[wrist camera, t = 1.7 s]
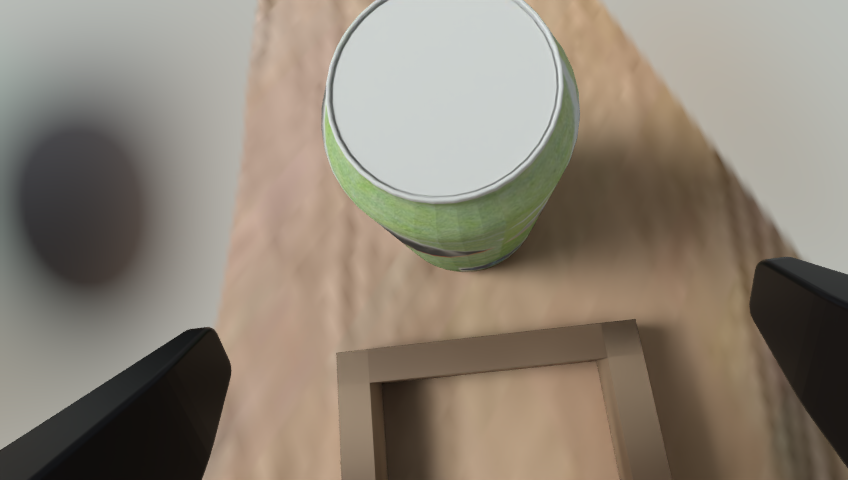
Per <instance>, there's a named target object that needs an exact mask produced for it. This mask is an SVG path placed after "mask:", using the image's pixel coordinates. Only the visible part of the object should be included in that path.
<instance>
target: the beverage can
mask: <svg viewBox="0 0 848 480" xmlns="http://www.w3.org/2000/svg"><path fill="white" fill-rule="evenodd" d="M579 119H580V108H579V92H578V88H577V84H576V80H575V76H574V72H573V69H572V67H571V65H570V63H569V60H568V58H567V56H566V54H565V52H564V50H563V48H562V47H561V45H560V44H559V43H558V41H557V40H556V39H555V37H554V36H553V35H552V33H551V32H550V30H549V29H548V27H547V26H546V24H545V23H544V22H543V20H542V19H541V18H540V16H539V15H538V13H536V12H535V11H534V10H533V9H532V8H531V7H530V6H529V5H528V4H527V3H526V2H525V1H524V0H376V1H374V2H373V3H372V4H371V5H370V6H369V7H367V8H366V9H365V10H364V11H363V12H362V13H361V14H360V15H359V16H358V17H357V18H356V19H355V21H354V22H353V23H352V24H351V25H350V27H349V28H348V29H347V30H346V32H345V34H344V35H343V37H342V39H341V41H340V42H339V44H338V46H337V48H336V50H335V53H334V56H333V58H332V61H331V64H330V67H329V73H328V78H327V83H326V88H325V93H324V99H323V104H322V135H323V141H324V147H325V152H326V155H327V157H328V160H329V163H330V166H331V168H332V171H333V173H334V175H335V176H336V178H337V180H338V182H339V183H340V185H341V187H342V188H343V190H344V191H345V193H346V194H347V195H348V196H349V197H350V198H351V200H352V201H353V202H354V203H355V204H356V205H357V206H358V207H359V208H360V209H361V210H362V211H364V212H365V213H366V214H367V215H369V216H370V217H371V218H372V219H374V220H375V221H376V222H377V223H379V224H380V225H381V226H382V227H384V228H385V229H386V230H387V231H389V232H390V233H391V234H392V235H394V236H395V237H396V238H397V239H399V240H400V241H401V242H402V243H404V244H405V245H406V246H407V247H409V248H410V249H411V250H412V251H414V252H415V253H416V254H417V255H419V256H420V257H421V258H422V259H424V260H425V261H427V262H429V263H431V264H433V265H435V266H437V267H440V268H443V269H446V270H452V271H459V272H467V271H477V270H482V269H486V268H489V267H491V266H494V265H496V264H498V263H500V262H502V261H503V260H505V259H507V258H508V257H509V256H511V255H512V254H513V253H514V252H515V251H516V250H517V249H518V248H519V247H520V246H521V245H522V243H523V242H524V241H525V240H526V238H527V237H528V235H529V233H530V231H531V229H532V228H533V226H534V224H535V222H536V221H537V219H538V217H539V215H540V214H541V212H542V210H543V208H544V206H545V205H546V203H547V201H548V199H549V198H550V196H551V194H552V192H553V191H554V189H555V187H556V185H557V183H558V182H559V180H560V178H561V176H562V174H563V172H564V171H565V169H566V167H567V165H568V163H569V161H570V159H571V155H572V152H573V149H574V146H575V143H576V140H577V135H578V127H579Z"/></svg>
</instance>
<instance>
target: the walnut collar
mask: <svg viewBox="0 0 848 480" xmlns="http://www.w3.org/2000/svg"><path fill="white" fill-rule="evenodd" d="M336 355H337V379H338V404H339V428H340V453H341V477H342V480H388V473H387V458H386V443H385V428H384V413H383V398H382V383H390V382H400V381H409V380H419V379H428V378H438V377H447V376H457V375H466V374H476V373H485V372H495V371H504V370H514V369H523V368H533V367H542V366H552V365H561V364H571V363H580V362H590V361H597V366H598V371H599V376H600V381H601V386H602V391H603V396H604V401H605V406H606V411H607V417H608V422H609V427H610V432H611V437H612V442H613V447H614V452H615V457H616V462H617V467H618V472H619V477H620V480H672V477H671V473H670V468H669V464H668V459H667V455H666V451H665V446H664V442H663V438H662V433H661V429H660V424H659V420H658V416H657V411H656V407H655V403H654V398H653V394H652V389H651V385H650V381H649V376H648V372H647V368H646V363H645V359H644V354H643V350H642V346H641V341H640V337H639V333H638V328H637V324H636V319H632V320H623V321H614V322H605V323H596V324H588V325H579V326H570V327H561V328H552V329H543V330H534V331H526V332H517V333H508V334H499V335H490V336H481V337H472V338H464V339H455V340H446V341H437V342H428V343H419V344H410V345H402V346H393V347H384V348H375V349H366V350H357V351H348V352H340V353H336Z"/></svg>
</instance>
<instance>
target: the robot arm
mask: <svg viewBox="0 0 848 480" xmlns="http://www.w3.org/2000/svg"><path fill="white" fill-rule="evenodd" d="M749 306H750V313H751V316H752V318H753V320H754V322H755V324H756V326H757V327H758V329H759V331H760V333H761V334H762V336H763V338H764V340H765V341H766V343H767V345H768V347H769V349H770V350H771V352H772V354H773V356H774V357H775V359H776V361H777V363H778V364H779V366H780V368H781V370H782V371H783V373H784V375H785V377H786V378H787V380H788V382H789V384H790V385H791V387H792V389H793V390H794V392H795V394H796V395H797V397H798V399H799V400H800V402H801V403H802V405H803V406H804V408H805V409H806V411H807V412H808V414H809V415H810V416H811V418H812V419H813V421H814V422H815V423H816V425H817V426H818V428H819V429H820V430H821V432H822V433H823V435H824V436H825V437H826V439H827V440H828V441H829V443H830V444H831V446H832V447H833V448H834V450H835V451H836V453H837V454H838V455H839V457H840V458H841V460H842V461H843V462H844V464H845V465H846V466H847V468H848V274H844V273H841V272H837V271H835V270H831V269H828V268H825V267H822V266H818V265H815V264H812V263H809V262H805V261H802V260H799V259H796V258H792V257H781V258H773V259H765V260H762V261H760V262H759V263H758V264H757V266H756V269H755V274H754V279H753V285H752V291H751V297H750V304H749ZM230 378H231V364H230V361H229V359H228V356H227V354H226V352H225V350H224V348H223V345H222V343H221V341H220V339H219V337H218V334H217V333H216V331H215V330H214V329H212V328H210V327H204V328H196V329H189V330H186V331H185V332H183V333H181V334H180V335H178V336H177V337H175V338H174V339H172V340H171V341H169V342H168V343H166V344H164V345H163V346H161V347H160V348H158V349H157V350H155V351H153V352H152V353H151V354H149V355H148V356H146V357H144V358H143V359H141V360H140V361H138V362H136V363H135V364H133V365H132V366H130V367H129V368H127V369H126V370H124V371H122V372H121V373H119V374H118V375H116V376H115V377H113V378H112V379H110V380H109V381H107V382H105V383H104V384H102V385H101V386H99V387H98V388H96V389H95V390H93V391H91V392H90V393H88V394H87V395H85V396H84V397H82V398H80V399H79V400H77V401H76V402H74V403H73V404H71V405H70V406H68V407H67V408H65V409H64V410H62V411H60V412H59V413H57V414H56V415H54V416H53V417H51V418H50V419H48V420H46V421H45V422H43V423H42V424H40V425H39V426H37V427H35V428H34V429H32V430H31V431H29V432H28V433H26V434H25V435H23V436H22V437H20V438H18V439H17V440H16V441H14V442H12V443H11V444H9V445H7V446H6V447H4V448H3V449H1V450H0V480H202V478H203V475H204V472H205V470H206V467H207V464H208V461H209V458H210V454H211V451H212V448H213V444H214V440H215V437H216V433H217V429H218V425H219V421H220V417H221V413H222V409H223V405H224V401H225V397H226V393H227V390H228V386H229V382H230Z"/></svg>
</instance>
